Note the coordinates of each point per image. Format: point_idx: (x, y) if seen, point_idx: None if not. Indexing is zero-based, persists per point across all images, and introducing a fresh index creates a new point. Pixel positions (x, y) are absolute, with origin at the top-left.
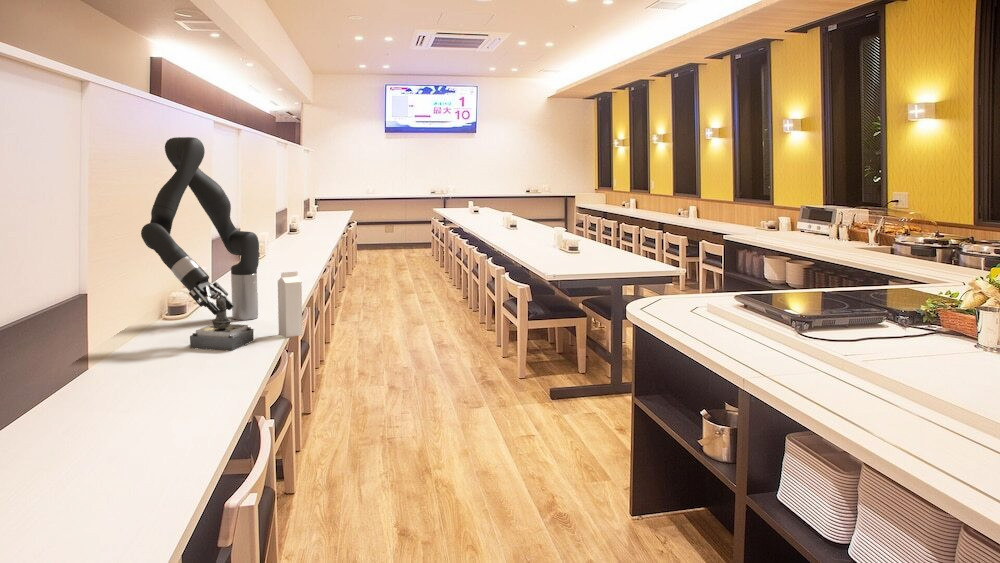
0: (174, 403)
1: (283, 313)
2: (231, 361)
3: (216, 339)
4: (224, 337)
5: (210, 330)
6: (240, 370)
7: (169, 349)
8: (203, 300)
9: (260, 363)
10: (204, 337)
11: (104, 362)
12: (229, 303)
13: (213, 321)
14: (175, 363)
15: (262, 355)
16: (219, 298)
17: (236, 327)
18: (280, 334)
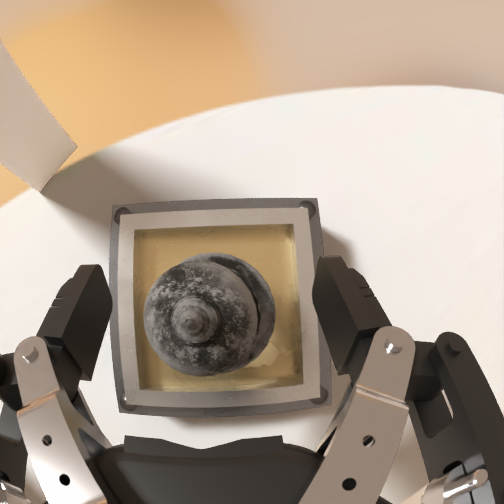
0: None
1: (24, 116)
2: (399, 164)
3: None
4: (313, 238)
5: (216, 378)
6: (433, 122)
7: None
8: (466, 352)
9: (378, 97)
10: None
11: None
12: (88, 291)
13: (264, 341)
14: (460, 298)
15: (315, 110)
16: (231, 320)
17: (136, 272)
18: (47, 181)
